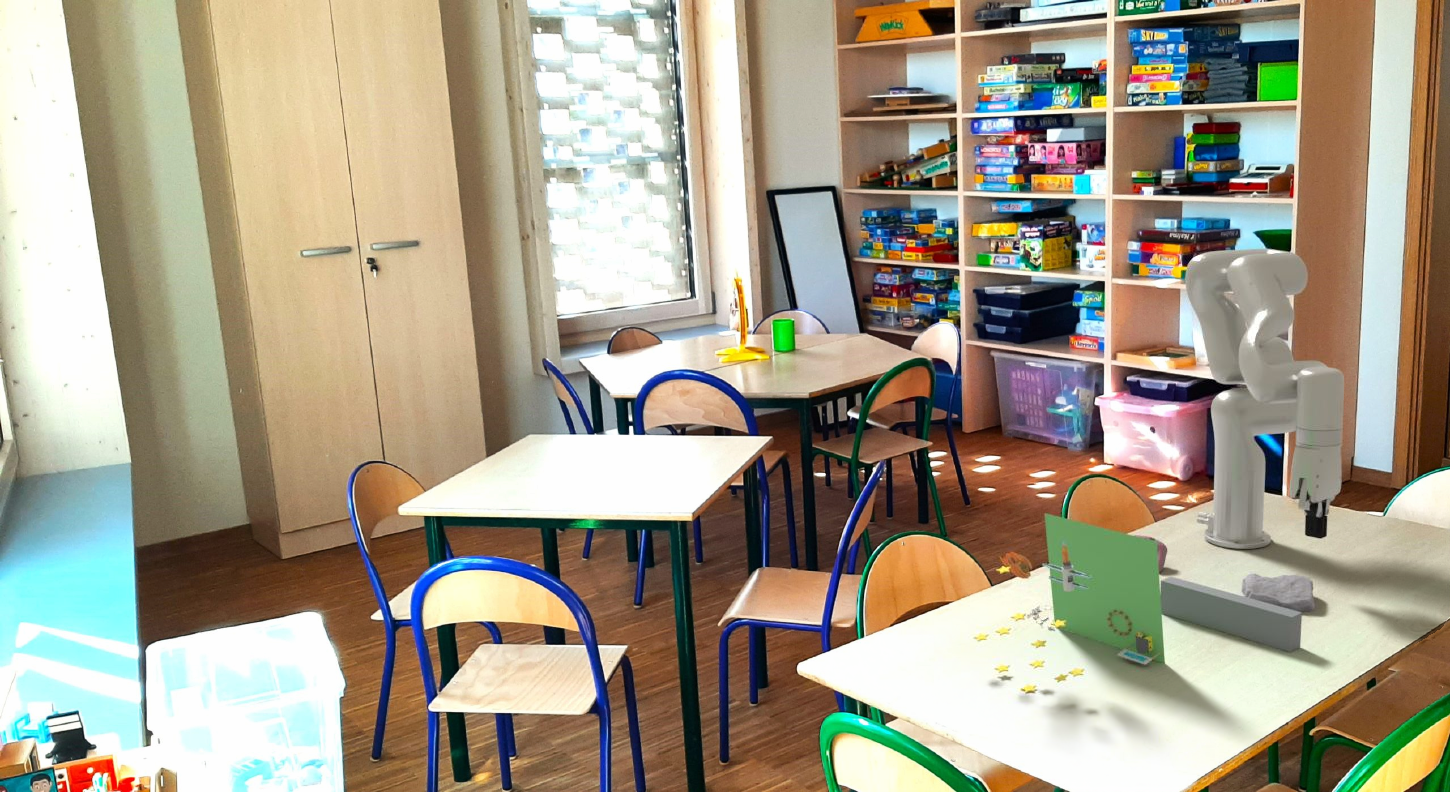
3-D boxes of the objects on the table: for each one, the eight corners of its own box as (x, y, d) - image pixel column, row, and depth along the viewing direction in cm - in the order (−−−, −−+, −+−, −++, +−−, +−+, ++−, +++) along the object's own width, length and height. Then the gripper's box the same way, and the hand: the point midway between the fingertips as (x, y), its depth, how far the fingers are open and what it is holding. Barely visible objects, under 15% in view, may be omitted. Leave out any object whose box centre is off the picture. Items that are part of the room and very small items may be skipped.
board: (1160, 612, 223) (1160, 580, 221) (1169, 608, 224) (1170, 576, 223) (1290, 652, 204) (1292, 617, 203) (1300, 646, 206) (1301, 612, 204)
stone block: (1317, 623, 220) (1311, 592, 228) (1318, 599, 218) (1312, 569, 227) (1243, 620, 224) (1241, 590, 232) (1244, 596, 222) (1241, 567, 231)
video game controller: (1166, 575, 245) (1171, 540, 246) (1161, 572, 241) (1166, 536, 242) (1115, 568, 250) (1119, 534, 251) (1109, 565, 246) (1114, 529, 248)
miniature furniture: (1118, 590, 235) (1118, 583, 235) (1054, 633, 217) (1054, 624, 217) (1082, 583, 240) (1082, 575, 240) (1017, 623, 222) (1017, 615, 222)
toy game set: (960, 685, 205) (945, 552, 199) (1056, 624, 219) (1045, 498, 212) (1070, 730, 188) (1057, 587, 182) (1166, 661, 202) (1157, 526, 196)
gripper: (1319, 427, 232) (1316, 524, 235) (1276, 441, 223) (1273, 541, 226) (1360, 432, 226) (1357, 531, 229) (1318, 446, 217) (1314, 549, 220)
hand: (1315, 536), depth 227 cm, fingers closed
